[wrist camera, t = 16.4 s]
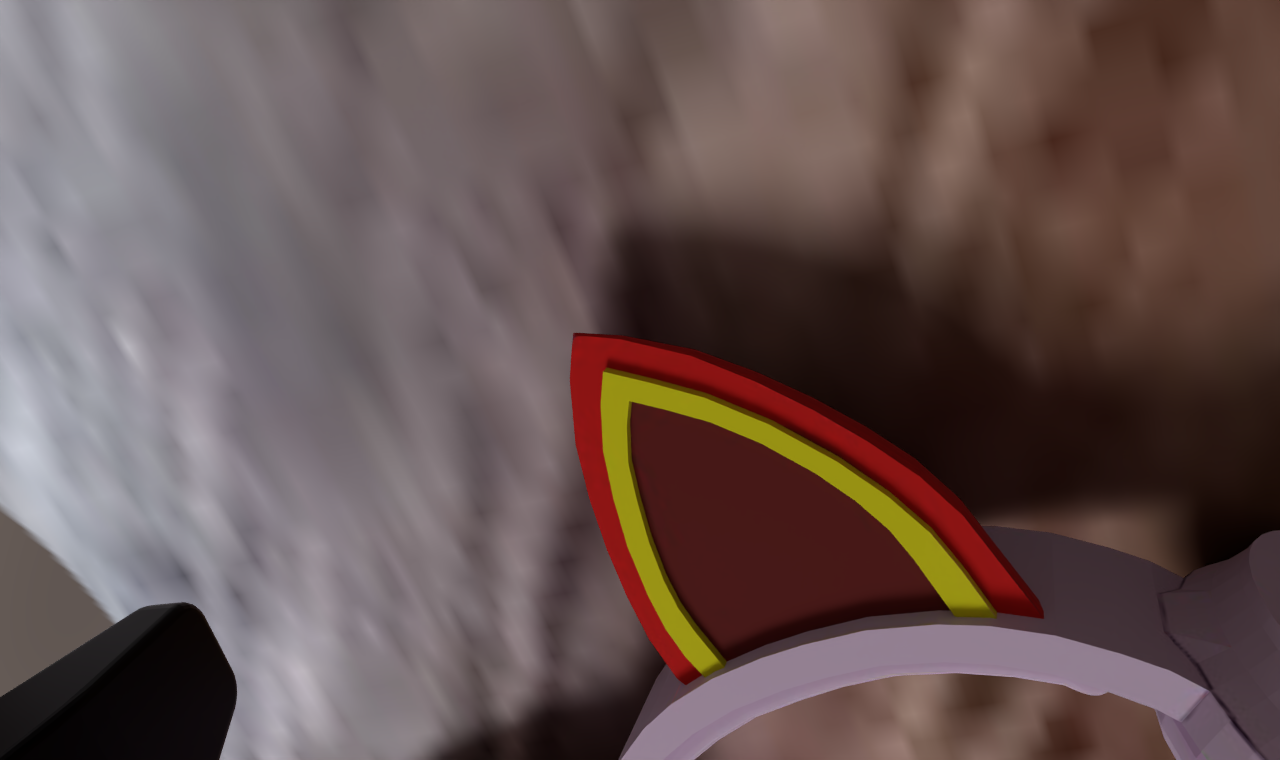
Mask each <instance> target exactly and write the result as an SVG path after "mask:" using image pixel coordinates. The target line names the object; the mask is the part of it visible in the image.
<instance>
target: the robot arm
mask: <svg viewBox="0 0 1280 760" xmlns="http://www.w3.org/2000/svg"><path fill="white" fill-rule="evenodd" d="M236 699H237V684H236V679H235V675H234V673H233V670H232V668H231V667H230V665H229V663H228V661H227V659H226V657H225V655H224V653H223V651H222V649H221V647H220V645H219V643H218V641H217V639H216V637H215V636H214V634H213V632H212V630H211V628H210V626H209V624H208V622H207V620H206V618H205V616H204V615H203V613H202V612H201V611H200V610H199V609H198V608H197V607H196V606H194V605H193V604H189V603H185V602H181V603H170V604H160V605H151V606H146V607H143V608H140V609H138V610H136V611H135V612H133V613H132V614H130V615H128V616H127V617H125V618H124V619H122V620H121V621H119V622H118V623H116V624H114V625H113V626H111V627H110V628H108V629H107V630H105V631H103V632H102V633H100V634H99V635H97V636H96V637H94V638H92V639H91V640H90V641H88V642H86V643H85V644H83V645H81V646H80V647H79V648H77V649H75V650H74V651H72V652H71V653H69V654H68V655H66V656H64V657H63V658H61V659H60V660H58V661H56V662H55V663H53V664H52V665H50V666H49V667H47V668H45V669H44V670H42V671H41V672H39V673H38V674H36V675H34V676H33V677H31V678H30V679H28V680H27V681H25V682H23V683H22V684H20V685H19V686H17V687H16V688H14V689H13V690H11V691H10V692H8V693H6V694H5V695H3V696H2V697H0V760H219V758H220V755H221V752H222V749H223V745H224V742H225V739H226V736H227V732H228V729H229V726H230V722H231V719H232V716H233V713H234V709H235V705H236Z"/></svg>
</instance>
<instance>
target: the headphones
mask: <svg viewBox="0 0 1280 760" xmlns="http://www.w3.org/2000/svg"><path fill="white" fill-rule="evenodd" d="M570 386H571V398H572V409H573V420H574V431H575V442H576V448H577V451H578V455H579V459H580V463H581V467H582V471H583V475H584V479H585V483H586V487H587V491H588V495H589V498H590V502H591V505H592V507H593V510H594V513H595V516H596V519H597V522H598V525H599V528H600V531H601V534H602V536H603V539H604V542H605V545H606V548H607V551H608V553H609V555H610V558H611V560H612V562H613V565H614V567H615V569H616V572H617V574H618V576H619V579H620V581H621V584H622V586H623V588H624V591H625V593H626V595H627V597H628V599H629V601H630V603H631V605H632V607H633V609H634V611H635V613H636V615H637V617H638V619H639V621H640V623H641V624H642V626H643V628H644V630H645V632H646V634H647V636H648V638H649V640H650V641H651V643H652V644H653V646H654V647H655V648H656V650H657V651H658V653H659V654H660V655H661V657H662V658H663V660H664V661H665V662H666V665H665V667H664V668H663V669H662V671H661V672H660V674H659V675H658V676H657V678H656V680H655V683H654V685H653V687H652V689H651V691H650V693H649V695H648V697H647V700H646V702H645V704H644V706H643V708H642V710H641V712H640V715H639V717H638V719H637V721H636V723H635V725H634V727H633V729H632V732H631V734H630V736H629V738H628V740H627V742H626V744H625V746H624V749H623V751H622V753H621V755H620V757H619V759H618V760H695V759H696V758H697V757H698V756H699V755H701V754H702V753H703V752H704V751H706V750H707V749H708V748H709V747H711V746H712V745H713V744H714V743H716V742H717V741H718V740H719V739H721V738H723V737H724V736H726V735H727V734H729V733H731V732H732V731H734V730H736V729H737V728H739V727H741V726H742V725H744V724H746V723H747V722H749V721H751V720H752V719H754V718H755V717H757V716H760V715H762V714H765V713H768V712H771V711H773V710H776V709H779V708H781V707H784V706H787V705H789V704H792V703H795V702H797V701H800V700H803V699H806V698H809V697H812V696H815V695H819V694H822V693H825V692H828V691H831V690H835V689H838V688H841V687H845V686H850V685H854V684H859V683H864V682H868V681H873V680H878V679H882V678H887V677H892V676H902V675H923V674H944V673H965V674H978V675H992V676H1006V677H1018V678H1024V679H1030V680H1036V681H1042V682H1048V683H1054V684H1060V685H1065V686H1067V687H1070V688H1072V689H1074V690H1077V691H1079V692H1081V693H1085V694H1088V695H1102V694H1105V693H1107V692H1110V693H1113V694H1116V695H1118V696H1121V697H1124V698H1127V699H1129V700H1132V701H1135V702H1137V703H1140V704H1143V705H1146V706H1148V707H1151V708H1154V709H1155V711H1156V714H1157V717H1158V720H1159V723H1160V726H1161V730H1162V733H1163V736H1164V739H1165V740H1166V742H1167V744H1168V746H1169V747H1170V749H1171V751H1172V753H1173V754H1174V756H1175V758H1176V760H1280V530H1277V531H1271V532H1268V533H1265V534H1262V535H1261V536H1260V537H1258V538H1257V539H1256V540H1255V541H1254V542H1253V543H1252V544H1251V545H1250V546H1249V548H1247V549H1245V550H1244V551H1242V552H1240V553H1239V554H1237V555H1235V556H1234V557H1232V558H1230V559H1228V560H1225V561H1221V562H1218V563H1214V564H1211V565H1208V566H1205V567H1202V568H1199V569H1196V570H1193V571H1192V572H1191V573H1190V574H1188V575H1187V576H1186V577H1184V578H1182V577H1180V576H1178V575H1176V574H1174V573H1172V572H1170V571H1168V570H1166V569H1164V568H1163V567H1161V566H1159V565H1157V564H1155V563H1153V562H1151V561H1148V560H1145V559H1142V558H1139V557H1136V556H1133V555H1130V554H1127V553H1123V552H1120V551H1117V550H1114V549H1111V548H1108V547H1104V546H1100V545H1097V544H1093V543H1089V542H1085V541H1081V540H1077V539H1073V538H1069V537H1066V536H1062V535H1058V534H1054V533H1048V532H1040V531H1031V530H1023V529H1015V528H1006V527H998V526H981V525H980V524H979V523H978V521H977V520H976V519H975V517H974V516H973V515H972V514H971V512H970V511H969V510H968V508H967V507H966V506H965V505H964V503H963V502H962V501H961V500H960V499H959V498H958V497H957V496H956V495H955V494H954V493H953V492H952V491H951V490H950V489H949V488H947V487H946V486H945V485H944V484H943V483H942V482H941V481H940V480H939V479H937V478H936V477H935V476H934V475H933V474H932V473H931V472H930V471H929V470H927V469H926V468H925V467H924V466H923V465H922V464H921V463H920V462H918V461H917V460H916V459H915V458H914V457H912V456H910V455H909V454H907V453H906V452H904V451H903V450H901V449H900V448H898V447H897V446H895V445H894V444H892V443H891V442H889V441H887V440H886V439H884V438H883V437H881V436H880V435H878V434H877V433H875V432H874V431H872V430H871V429H869V428H867V427H866V426H864V425H862V424H860V423H859V422H857V421H855V420H853V419H851V418H849V417H848V416H846V415H844V414H842V413H840V412H838V411H837V410H835V409H833V408H831V407H829V406H827V405H826V404H824V403H822V402H820V401H818V400H816V399H815V398H813V397H811V396H808V395H806V394H804V393H802V392H800V391H797V390H795V389H793V388H791V387H789V386H786V385H784V384H782V383H780V382H778V381H776V380H773V379H771V378H769V377H767V376H765V375H762V374H760V373H758V372H756V371H753V370H750V369H747V368H745V367H742V366H739V365H736V364H734V363H731V362H728V361H725V360H723V359H720V358H717V357H714V356H712V355H709V354H706V353H703V352H700V351H698V350H695V349H690V348H685V347H680V346H674V345H669V344H664V343H659V342H654V341H649V340H644V339H638V338H633V337H628V336H622V335H605V334H587V333H573V343H572V355H571V371H570Z"/></svg>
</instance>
